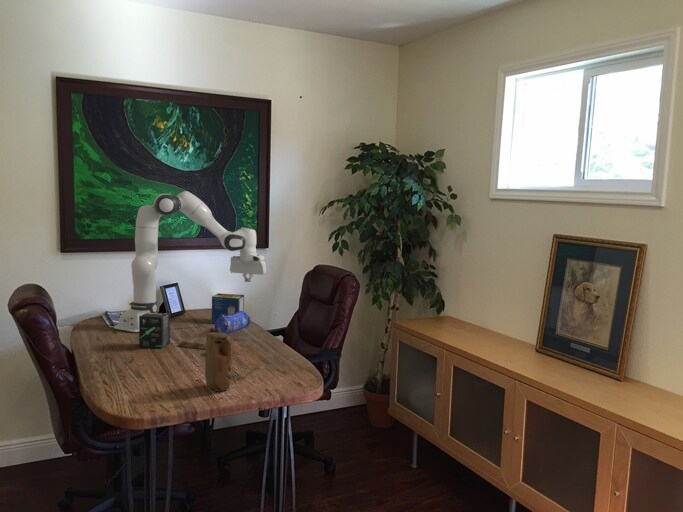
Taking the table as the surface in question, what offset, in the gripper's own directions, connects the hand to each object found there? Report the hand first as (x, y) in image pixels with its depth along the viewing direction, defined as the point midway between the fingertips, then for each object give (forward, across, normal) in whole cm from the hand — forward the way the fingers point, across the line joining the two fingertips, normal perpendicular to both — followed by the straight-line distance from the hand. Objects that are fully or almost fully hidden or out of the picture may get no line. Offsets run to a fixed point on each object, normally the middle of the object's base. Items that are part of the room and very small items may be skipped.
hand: (247, 281), depth 305 cm
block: (+23, +33, -99) cm, 107 cm away
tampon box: (+23, -20, -58) cm, 66 cm away
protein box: (+24, -10, -3) cm, 26 cm away
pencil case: (+24, 0, -18) cm, 30 cm away
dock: (+23, 0, -40) cm, 46 cm away
